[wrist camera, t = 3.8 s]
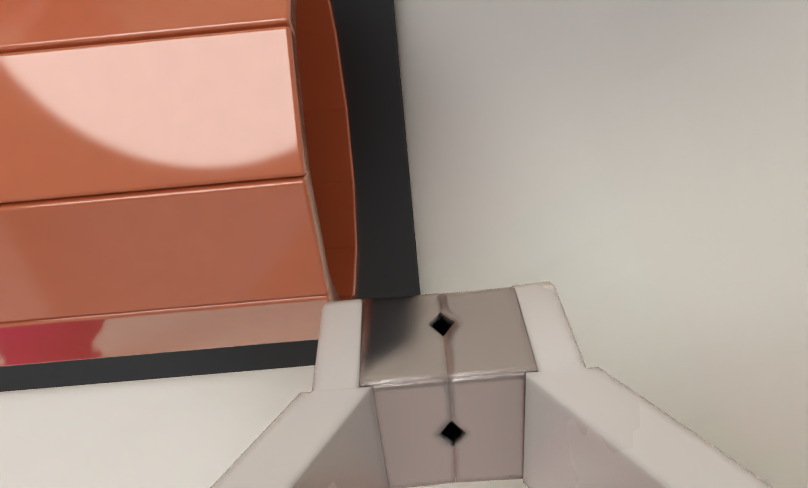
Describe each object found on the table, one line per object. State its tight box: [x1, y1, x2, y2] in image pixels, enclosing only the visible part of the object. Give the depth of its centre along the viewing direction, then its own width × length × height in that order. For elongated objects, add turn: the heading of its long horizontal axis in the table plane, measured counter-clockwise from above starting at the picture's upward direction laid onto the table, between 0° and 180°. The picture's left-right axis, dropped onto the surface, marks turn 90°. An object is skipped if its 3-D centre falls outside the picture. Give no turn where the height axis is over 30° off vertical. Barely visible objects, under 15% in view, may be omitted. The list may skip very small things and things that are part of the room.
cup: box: [0, 0, 359, 366], centre depth 14 cm, size 8×8×8 cm
